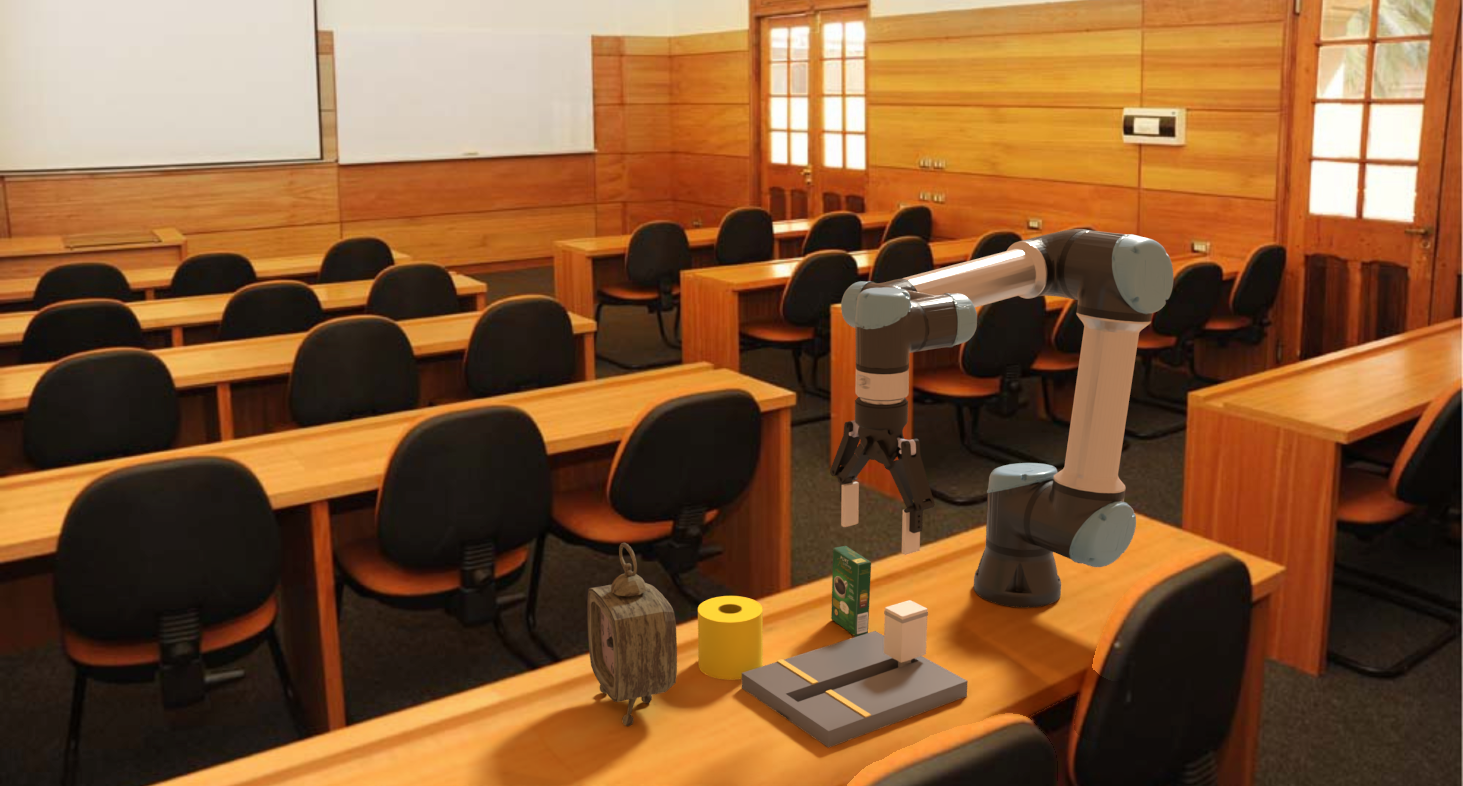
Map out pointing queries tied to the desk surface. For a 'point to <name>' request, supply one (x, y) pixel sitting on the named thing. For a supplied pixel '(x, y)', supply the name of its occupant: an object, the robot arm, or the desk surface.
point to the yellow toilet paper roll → (730, 636)
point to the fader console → (851, 688)
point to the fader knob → (905, 631)
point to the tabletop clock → (631, 638)
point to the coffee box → (850, 590)
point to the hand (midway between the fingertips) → (879, 538)
